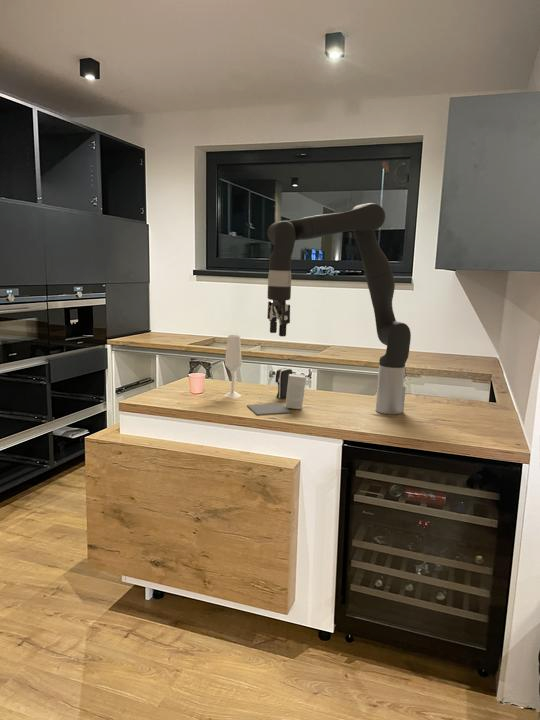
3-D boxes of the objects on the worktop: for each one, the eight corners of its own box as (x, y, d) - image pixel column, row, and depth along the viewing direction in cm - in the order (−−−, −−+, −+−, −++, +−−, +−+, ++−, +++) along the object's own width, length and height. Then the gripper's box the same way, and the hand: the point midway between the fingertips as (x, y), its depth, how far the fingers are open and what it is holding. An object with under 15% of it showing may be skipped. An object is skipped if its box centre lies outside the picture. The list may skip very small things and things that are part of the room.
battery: (284, 394, 212) (285, 366, 210) (292, 396, 209) (293, 368, 207) (273, 397, 207) (274, 369, 205) (280, 399, 204) (281, 370, 202)
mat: (279, 404, 197) (279, 402, 197) (291, 413, 186) (291, 411, 186) (247, 406, 193) (247, 404, 193) (257, 415, 182) (257, 414, 182)
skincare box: (300, 406, 195) (305, 375, 193) (301, 409, 191) (306, 377, 189) (284, 404, 194) (288, 373, 192) (285, 407, 190) (289, 375, 188)
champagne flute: (242, 394, 210) (243, 334, 206) (239, 398, 204) (241, 337, 199) (225, 393, 211) (227, 334, 206) (222, 397, 204) (223, 336, 200)
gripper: (298, 286, 164) (296, 337, 167) (282, 284, 177) (280, 331, 180) (276, 285, 161) (274, 337, 164) (261, 283, 174) (259, 331, 177)
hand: (277, 334), depth 172 cm, fingers open, 8 cm apart
